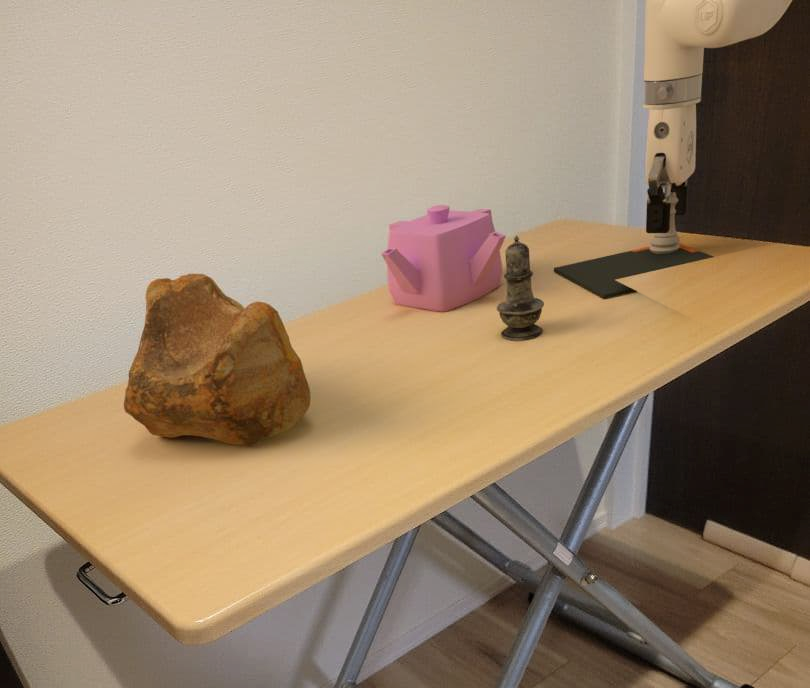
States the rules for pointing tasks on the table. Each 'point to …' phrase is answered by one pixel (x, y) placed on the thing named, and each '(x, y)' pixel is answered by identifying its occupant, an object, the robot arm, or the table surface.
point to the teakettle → (443, 258)
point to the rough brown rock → (213, 366)
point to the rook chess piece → (669, 240)
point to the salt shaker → (519, 296)
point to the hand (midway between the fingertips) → (666, 223)
